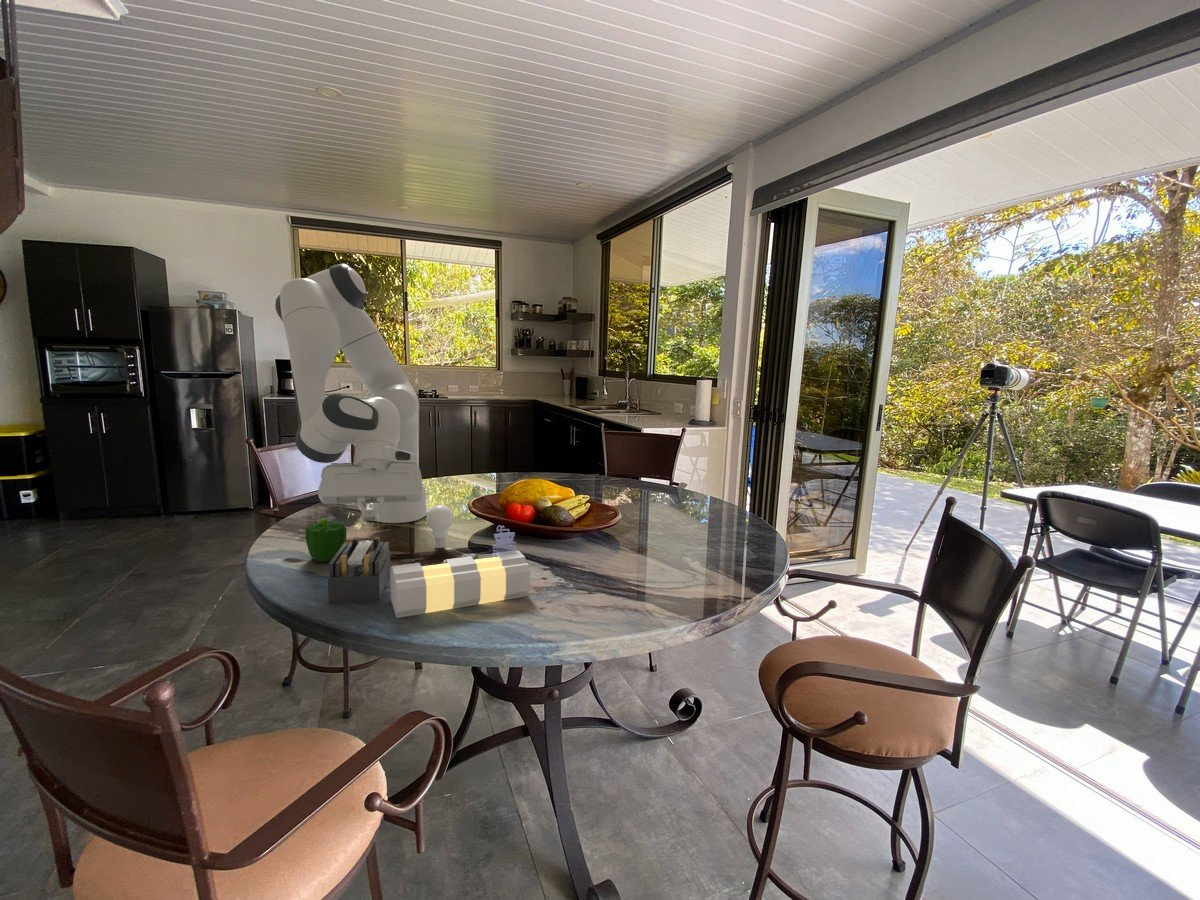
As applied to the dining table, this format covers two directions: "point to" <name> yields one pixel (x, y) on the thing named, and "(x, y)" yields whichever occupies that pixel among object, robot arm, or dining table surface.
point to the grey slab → (360, 552)
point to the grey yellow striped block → (460, 581)
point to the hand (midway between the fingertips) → (369, 519)
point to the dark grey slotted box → (359, 574)
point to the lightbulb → (440, 523)
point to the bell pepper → (325, 539)
